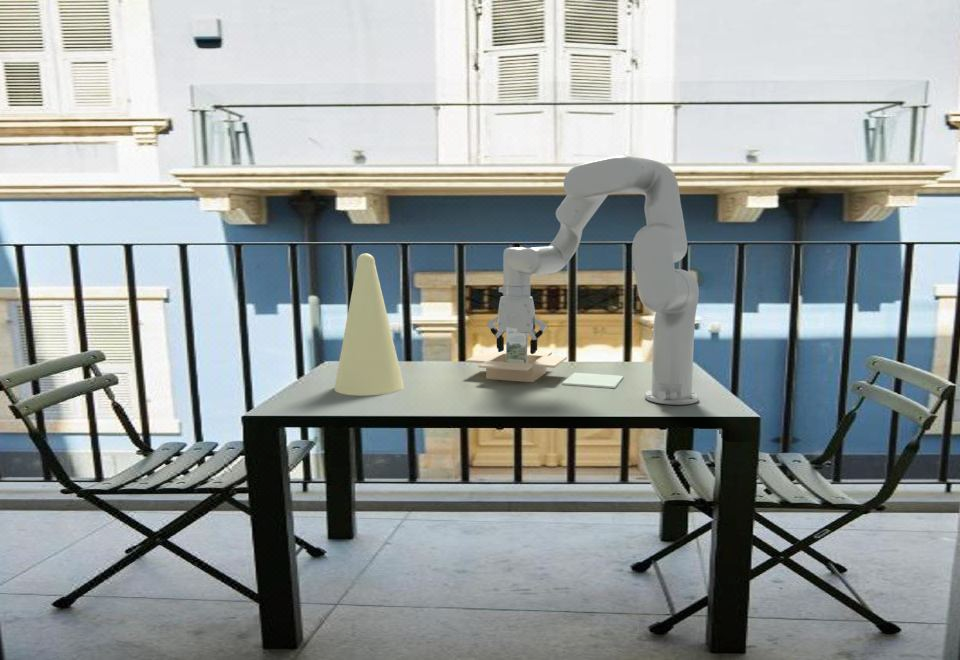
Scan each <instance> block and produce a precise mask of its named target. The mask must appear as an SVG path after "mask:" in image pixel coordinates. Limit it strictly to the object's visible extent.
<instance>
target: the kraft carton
mask: <svg viewBox="0 0 960 660" xmlns="http://www.w3.org/2000/svg"><path fill="white" fill-rule="evenodd" d="M567 358H568V357H567V356H560V355H558V356H557V355H553V352H552V351H540V350H539V351H538V350H537V351H536V353H534V354H531V353H530V350H527V363H515V362H506V350H505V351H502V352H491V351H482V352H480V353H478V354H476V355H474V356H471V357H469V358H468V359H466V360H465V362H466V363H473V364H475V363H476V364H478V365H477V366H478V368H482V369H485V379H486V380H494V381H495V380H496V381H507V382H508V381H509V382H524V383H534V382H536V381H537V380H538V379H540V378H541V377H542V376H544V375H545V374H547V368H551V369H552V368H553V369H555V368H557V367H558V366H559V365H561V364H562V363H564V362H565V361H566V360H568V359H567Z"/></svg>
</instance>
